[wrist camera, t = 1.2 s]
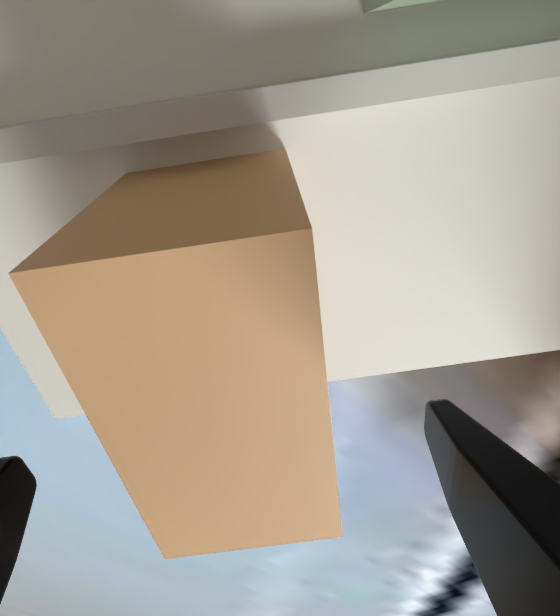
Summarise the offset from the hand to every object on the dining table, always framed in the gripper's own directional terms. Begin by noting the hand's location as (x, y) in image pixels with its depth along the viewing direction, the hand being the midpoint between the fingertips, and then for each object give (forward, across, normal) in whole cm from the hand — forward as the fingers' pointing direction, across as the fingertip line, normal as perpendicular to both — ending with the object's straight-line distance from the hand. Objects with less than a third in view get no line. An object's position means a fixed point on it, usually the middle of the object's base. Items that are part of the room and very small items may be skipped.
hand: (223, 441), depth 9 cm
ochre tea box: (+7, 0, 0) cm, 7 cm away
